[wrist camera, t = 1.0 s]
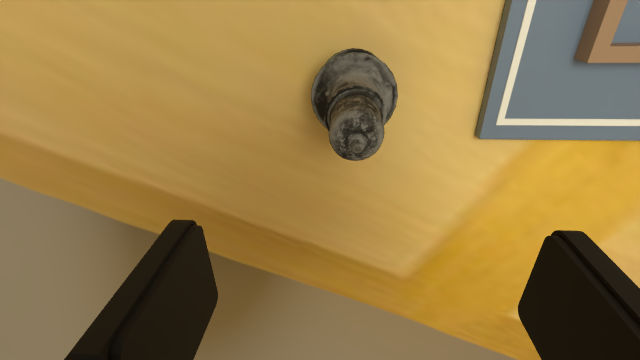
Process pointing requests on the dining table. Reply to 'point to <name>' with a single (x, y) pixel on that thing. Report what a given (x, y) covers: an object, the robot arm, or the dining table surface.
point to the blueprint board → (564, 72)
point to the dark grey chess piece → (354, 102)
